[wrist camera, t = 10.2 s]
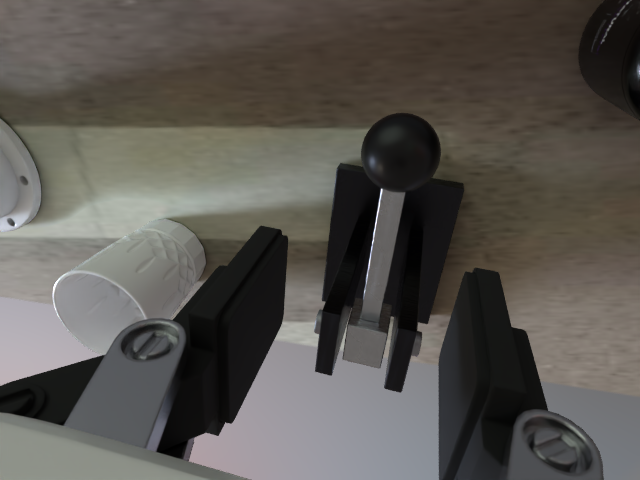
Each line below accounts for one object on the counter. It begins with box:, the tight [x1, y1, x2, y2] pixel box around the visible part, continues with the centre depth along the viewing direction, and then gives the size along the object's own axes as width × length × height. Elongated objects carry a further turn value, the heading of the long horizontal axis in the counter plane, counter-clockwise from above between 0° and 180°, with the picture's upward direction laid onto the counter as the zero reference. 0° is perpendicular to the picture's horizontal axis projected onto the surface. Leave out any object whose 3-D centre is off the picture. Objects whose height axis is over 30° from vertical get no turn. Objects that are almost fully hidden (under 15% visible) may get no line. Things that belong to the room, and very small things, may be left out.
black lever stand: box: [314, 163, 464, 392], centre depth 29 cm, size 12×9×13 cm
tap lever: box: [343, 113, 441, 368], centre depth 22 cm, size 14×3×3 cm, turn 175°
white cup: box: [53, 219, 206, 355], centre depth 36 cm, size 8×8×10 cm
